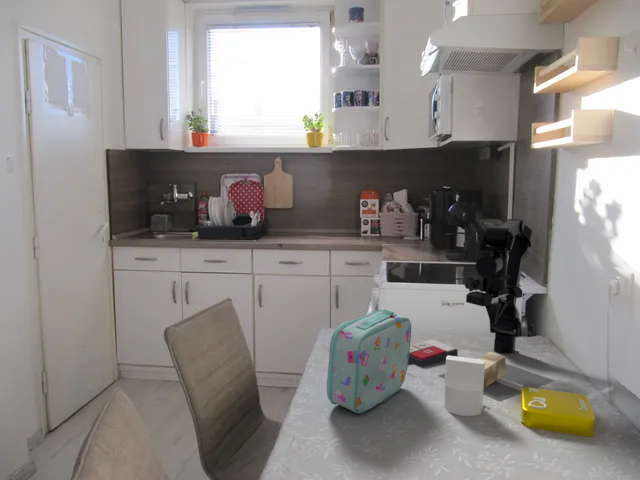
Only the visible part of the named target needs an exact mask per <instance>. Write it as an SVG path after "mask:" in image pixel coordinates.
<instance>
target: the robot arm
mask: <svg viewBox="0 0 640 480" xmlns="http://www.w3.org/2000/svg"><path fill="white" fill-rule="evenodd" d="M534 244H535V235H534V232H533V230H532V229H531V228H530V227H528V225H526V222H525V220H523V219H522V218H521V219H520V218H519V219H518V218H509V219H506V221H505V222H503V223H502V224H500V225H499V226H497V225H491V226H490V225H489V226H487V227H485V230H483V233H482V238H481V240H480V246H479V249H478V251H479V252H483V256H480V257H479V258H478V259H477V260H476V263H475V270H476V272H477V273H478V274H479V275H480V276H481V278H474V276H470V277H466V278H465V281H464V287H465V289H466V290H468V291H469V292H468V293H467V294H466V296H465V302H466V303H468V304H473V305H476V306H479V307H485V309H486V312H487V316H488V319H489V333H491V334H494V335H495V336H494V343H493V352H494V353H498V354H500V355H501V354H513V353H515V354H520V351H519V350H517V349H516V340H517V338H519V337H522V336H523V326H522V325H523V324H522V321H521V318H520V312H519V310H518V307H517V305H516V304H517V299H520V298H523V290H522V288H521V287H520V281H521V276H522V270H523V265H524V261H525V260H526V258H528V257H529V255H530V254H531V251H532V248H533V247H534Z"/></svg>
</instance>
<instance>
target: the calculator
mask: <svg viewBox="0 0 640 480" xmlns="http://www.w3.org/2000/svg"><path fill="white" fill-rule="evenodd" d="M458 353H459V352H458V349H457V348H455V347H453V346H451V345H447V344H445V343H442V342H439V341H437V340H435V339H429V340H424V341H420V342H416V343H413V344H410V352H409V360H408V365H410V366H413V365H416V366H419V367H421V368H422V367H426V366H430V365H434V364H439V363H443V362H446V357H447V356H448V355H449V356H457V357H459V356H458Z"/></svg>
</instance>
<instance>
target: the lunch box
mask: <svg viewBox="0 0 640 480" xmlns="http://www.w3.org/2000/svg"><path fill="white" fill-rule="evenodd" d="M411 339H412V321H411V320H410V318H408V317H406V316H403V315H401V314H400V315H399V314H396V313H394V311H391V310H388V309H377V310H375V311H372V312H370V313H368V314H366V315H362V316H361V317H358V318H355V319H352V320H348V321H344V322H342V323H340V324H339V325H337V327H336V329H335V330H334V332H333V334H332V336H331V338H330V342H329V343H330V344H329V354H328V356H329V357H328V366H327V367H328V368H327V369H328V370H327V379H326V395H327V398H328V400H329V402H330V403H331V404H332V405H338V406H340V407H343V408H346V409H347V410H349V411H351V412H353V413H355V414H363V413H366V412H367V411H369V410H370V409H372V408H374V407H376V405H379V404H380V403H382V402H386V401H388V399H390V397H392V396H393V395H394V394H396V393H398V392H399V391H400V390H401V387H402V386H403V384H404V383H405V379H406V374H407V371H408V367H409V364H408V360H409V352H410V345H411V342H412V341H411Z"/></svg>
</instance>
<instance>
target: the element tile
mask: <svg viewBox="0 0 640 480" xmlns="http://www.w3.org/2000/svg"><path fill="white" fill-rule="evenodd" d="M520 410H521V411H520V412H521V413H520V414H521V415H520V416H521V424H522V425H523V426H524V427H526V428H530V429H535V430H542V431H547V432H555V433H560V434H565V435H566V434H567V435H572V436H573V435H574V436H580V437H585V438H586V437H587V438H588V437H593V436H594V435H595V427H596V426H595V423H596V416H595V413H594V410H593V408H592V405H591V401H590V399H589V397H588V396H587V395H585V394H582V393H575V392H567V391H561V390H560V391H559V390H553V389H545V388H540V387H537V388H532V387H524V388H523V389H522V390H521V394H520Z"/></svg>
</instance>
